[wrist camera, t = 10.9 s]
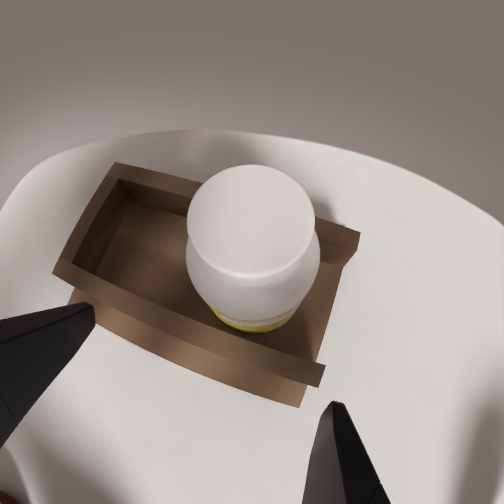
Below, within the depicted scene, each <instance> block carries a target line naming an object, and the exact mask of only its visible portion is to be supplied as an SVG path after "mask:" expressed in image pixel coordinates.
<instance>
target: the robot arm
mask: <svg viewBox="0 0 504 504" xmlns="http://www.w3.org/2000/svg"><path fill="white" fill-rule="evenodd" d="M95 324H96V320H95V309H94V306H93V305H91V304H89V303H88V302H80V303H75V304H71V305H66V306H62V307H57V308H53V309H48V310H43V311H39V312H34V313H30V314H25V315H20V316H16V317H11V318H8V319H1V320H0V449H1V447H2V446H3V444H4V443H5V442H6V440H7V439H8V438H9V436H10V435H11V433H12V432H13V431H14V429H15V428H16V427H17V426H18V424H19V423H20V421H21V420H22V419H23V417H24V416H25V415H26V414H27V412H28V411H29V410H30V409H31V407H32V406H33V405H34V403H35V402H36V401H37V400H38V398H39V397H40V396H41V395H42V394H43V392H44V391H45V390H46V389H47V387H48V386H49V385H50V384H51V383H52V381H53V380H54V379H55V378H56V377H57V375H58V374H59V373H60V372H61V371H62V370H63V368H64V367H65V366H66V365H67V364H68V363H69V361H70V360H71V359H72V358H73V357H74V355H75V354H76V353H77V351H78V350H79V348H80V347H81V346H82V344H83V343H84V341H85V340H86V338H87V337H88V336H89V334H90V333H91V331H92V330H93V329H94V327H95ZM0 504H2V503H1V502H0ZM302 504H391V503H390V501H389V499H388V497H387V495H386V493H385V490H384V488H383V486H382V484H380V480H379V477H378V475H377V473H376V471H375V469H374V467H373V464H372V462H371V460H370V458H369V456H368V454H367V451H366V449H365V447H364V445H363V443H362V441H361V439H360V436H359V434H358V432H357V430H356V428H355V426H354V424H353V422H352V419H351V417H350V415H349V413H348V411H347V409H346V407H345V405H344V404H343V403H341V402H337V401H332V402H330V404H329V405H328V407H327V408H326V409H325V411H324V412H323V414H322V415H321V417H320V421H319V425H318V429H317V432H316V436H315V440H314V444H313V447H312V451H311V455H310V460H309V465H308V472H307V478H306V484H305V489H304V495H303V500H302Z"/></svg>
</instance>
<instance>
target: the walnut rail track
mask: <svg viewBox="0 0 504 504" xmlns="http://www.w3.org/2000/svg"><path fill="white" fill-rule="evenodd" d="M202 185H203V183H199V182H195V181H191V180H188V179H184V178H180V177H176V176H172V175H168V174H164V173H160V172H156V171H152V170H148V169H143V168H139V167H135V166H130V165H126V164H122V163H117V162H115V163H114V165H113V166H112V167H111V169H110V170H109V172H108V173H107V175H106V176H105V178H104V180H103V181H102V183H101V184H100V186H99V187H98V189H97V190H96V192H95V194H94V195H93V197H92V199H91V200H90V202H89V204H88V205H87V207H86V209H85V210H84V212H83V214H82V216H81V217H80V219H79V221H78V223H77V224H76V226H75V228H74V230H73V232H72V234H71V236H70V237H69V239H68V241H67V243H66V245H65V247H64V249H63V251H62V253H61V255H60V257H59V259H58V261H57V263H56V266H55V268H54V270H53V272H52V274H54V275H55V276H57V277H59V278H60V279H62V280H64V281H65V282H67V283H69V284H71V285H72V286H74V287H75V288H74V291H73V293H72V295H71V298H70V300H69V302H68V305H71V304H75V303H80V302H88V303H89V304H91V305H93V306H94V309H95V320H96V324H98V325H100V326H102V327H104V328H105V329H107V330H109V331H111V332H113V333H114V334H116V335H118V336H120V337H122V338H124V339H126V340H128V341H129V342H131V343H133V344H135V345H137V346H139V347H141V348H143V349H145V350H147V351H149V352H151V353H154V354H156V355H158V356H160V357H162V358H164V359H166V360H169V361H171V362H173V363H175V364H177V365H180V366H182V367H184V368H187V369H189V370H191V371H194V372H196V373H198V374H201V375H203V376H206V377H208V378H211V379H213V380H216V381H219V382H221V383H224V384H226V385H229V386H232V387H235V388H237V389H240V390H243V391H246V392H249V393H252V394H255V395H258V396H261V397H264V398H267V399H270V400H273V401H276V402H280V403H283V404H286V405H290V406H293V407H297V408H299V407H300V404H301V401H302V399H303V396H304V393H305V391H306V388H307V385H310V386H314V387H317V388H318V387H319V384H320V381H321V378H322V375H323V372H324V369H325V366H326V365H323V364H320V363H316V359H317V356H318V353H319V349H320V346H321V343H322V340H323V337H324V334H325V330H326V327H327V324H328V320H329V317H330V313H331V310H332V306H333V303H334V299H335V296H336V292H337V288H338V284H339V280H340V277H341V273H342V269H343V267H344V266H345V265H346V263H347V262H348V261H349V260H350V258H351V257H352V256H353V255H354V253H355V252H356V251H357V247H358V243H359V238H360V233H361V232H358V231H355V230H352V229H350V228H347V227H344V226H341V225H338V224H335V223H332V222H329V221H326V220H323V219H320V218H317V217H315V228H314V229H315V231H316V234H317V237H318V241H319V246H320V263H319V268H318V272H317V275H316V278H315V280H314V282H313V284H312V286H311V288H310V290H309V291H308V293H307V294H306V296H305V297H304V299H303V300H302V302H301V303H300V305H299V307H298V308H297V310H296V311H295V313H294V314H293V315H292V317H291V318H290V319H289V320H288V321H287V322H286V323H285V324H284V325H283V326H281V327H280V328H278V329H277V330H275V331H272V332H270V333H266V334H261V335H248V334H243V333H240V332H237V331H235V330H233V329H231V328H230V327H228V326H227V325H225V324H224V323H223V322H222V321H221V320H220V319H219V318H218V317H217V315H216V314H215V313H214V312H213V311H212V309H211V308H210V307H209V306H208V305H207V303H206V302H205V301H204V300H203V298H202V297H201V296H200V295H199V293H198V292H197V291H196V289H195V287H194V285H193V283H192V281H191V279H190V276H189V273H188V270H187V265H186V246H187V241H188V237H189V236H188V231H187V214H188V209H189V206H190V203H191V201H192V199H193V197H194V195H195V193H196V192H197V191H198V189H199V188H200V187H201V186H202Z"/></svg>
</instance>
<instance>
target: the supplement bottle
mask: <svg viewBox="0 0 504 504" xmlns="http://www.w3.org/2000/svg"><path fill="white" fill-rule="evenodd" d="M314 228H315V215H314V209H313V206H312V203H311V200H310V198H309V196H308V195H307V193H306V191H305V190H304V189H303V187H302V186H301V185H300V184H299V183H298V182H297V181H296V180H295V179H293V178H292V177H291V176H289V175H288V174H286V173H284V172H282V171H280V170H278V169H275V168H272V167H269V166H264V165H256V164H248V165H239V166H234V167H231V168H228V169H225V170H223V171H221V172H219V173H217V174H215V175H214V176H212V177H211V178H209V179H208V180H207V181H206V182H205V183H203V185H202V186H201V187H200V188H199V189H198V191H197V192H196V193H195V195H194V197H193V199H192V201H191V203H190V206H189V209H188V214H187V231H188V236H189V237H188V241H187V246H186V265H187V270H188V273H189V276H190V279H191V281H192V283H193V285H194V287H195V289H196V291H197V292H198V293H199V295H200V296H201V297H202V298H203V300H204V301H205V302H206V303H207V305H208V306H209V307H210V308H211V309H212V311H213V312H214V313H215V314H216V315H217V317H218V318H219V319H220V320H221V321H222V322H223V323H224V324H225V325H227V326H228V327H230V328H231V329H233V330H235V331H237V332H240V333H243V334H248V335H261V334H266V333H270V332H272V331H275V330H277V329H278V328H280V327H281V326H283V325H284V324H285V323H286V322H287V321H288V320H289V319H290V318H291V317H292V315H293V314H294V313H295V311H296V310H297V308H298V307H299V305H300V303H301V302H302V300H303V299H304V297H305V296H306V294H307V293H308V291H309V290H310V288H311V286H312V284H313V282H314V280H315V278H316V275H317V272H318V268H319V263H320V246H319V241H318V237H317V234H316V231H315V229H314Z"/></svg>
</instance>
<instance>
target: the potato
mask: <svg viewBox="0 0 504 504" xmlns="http://www.w3.org/2000/svg"><path fill="white" fill-rule="evenodd" d="M0 502H1V503H2V504H18V503H17V502H16V501H15V500H14V499H13V498H12V497H10V496H9V495H8V494H6V493H4V492H3V491H0Z"/></svg>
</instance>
